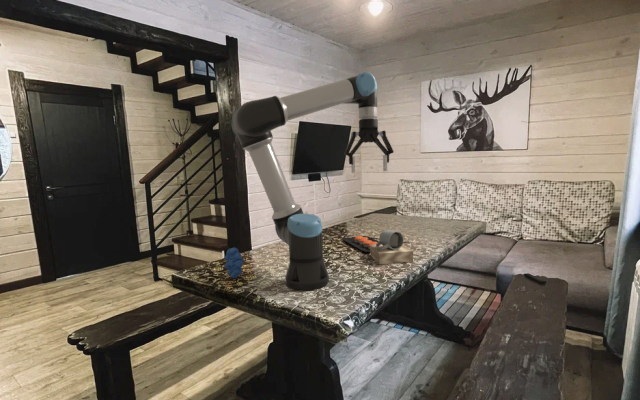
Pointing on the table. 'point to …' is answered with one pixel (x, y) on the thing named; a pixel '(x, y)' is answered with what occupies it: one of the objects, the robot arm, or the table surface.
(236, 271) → the grapes
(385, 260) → the birch block
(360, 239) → the sushi plate
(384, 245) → the ceramic mug
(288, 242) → the robot arm
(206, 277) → the table surface
